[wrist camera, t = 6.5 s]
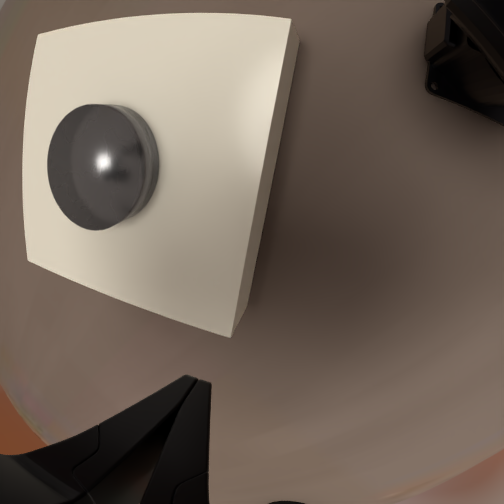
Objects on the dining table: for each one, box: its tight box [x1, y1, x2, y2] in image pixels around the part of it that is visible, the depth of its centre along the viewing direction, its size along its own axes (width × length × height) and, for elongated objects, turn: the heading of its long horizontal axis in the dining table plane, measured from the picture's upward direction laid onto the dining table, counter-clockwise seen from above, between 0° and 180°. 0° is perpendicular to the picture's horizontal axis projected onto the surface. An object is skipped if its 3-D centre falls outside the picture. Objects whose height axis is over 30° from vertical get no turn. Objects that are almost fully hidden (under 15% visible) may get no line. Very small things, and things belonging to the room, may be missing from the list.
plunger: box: [47, 104, 159, 231], centre depth 18 cm, size 7×7×6 cm
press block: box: [23, 13, 300, 338], centre depth 19 cm, size 18×18×4 cm
